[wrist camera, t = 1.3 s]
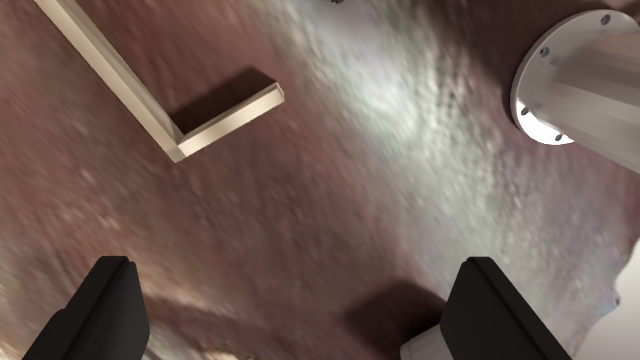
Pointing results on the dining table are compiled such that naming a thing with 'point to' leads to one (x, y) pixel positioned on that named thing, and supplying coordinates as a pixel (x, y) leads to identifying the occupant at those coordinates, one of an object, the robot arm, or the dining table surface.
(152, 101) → the dock
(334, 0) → the bolt
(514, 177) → the dining table surface
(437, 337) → the grey rounded box
